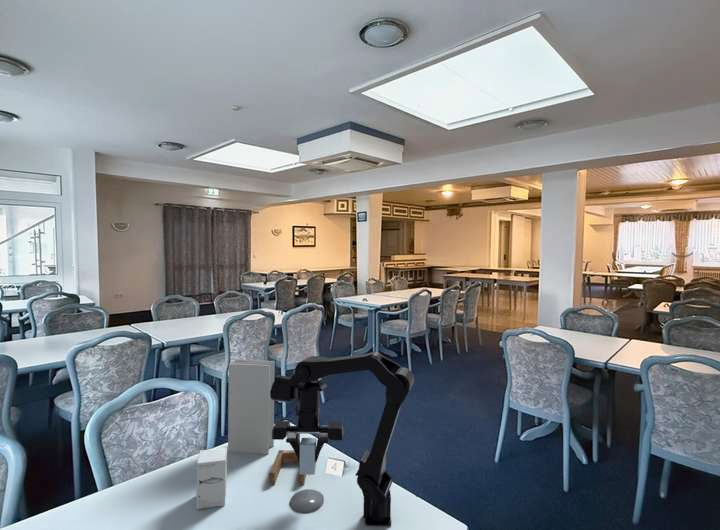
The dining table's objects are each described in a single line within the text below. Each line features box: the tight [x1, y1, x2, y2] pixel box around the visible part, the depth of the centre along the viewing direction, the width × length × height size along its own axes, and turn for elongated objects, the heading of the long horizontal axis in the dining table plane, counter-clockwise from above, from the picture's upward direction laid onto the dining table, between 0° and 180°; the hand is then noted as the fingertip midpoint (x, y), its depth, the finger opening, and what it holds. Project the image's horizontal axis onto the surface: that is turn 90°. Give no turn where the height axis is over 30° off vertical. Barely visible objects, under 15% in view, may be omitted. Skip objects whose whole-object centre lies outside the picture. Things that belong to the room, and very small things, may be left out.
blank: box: [299, 437, 317, 475], centre depth 106 cm, size 4×4×8 cm
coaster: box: [290, 488, 325, 513], centre depth 107 cm, size 9×9×1 cm
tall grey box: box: [227, 359, 276, 455], centre depth 134 cm, size 14×6×30 cm, turn 84°
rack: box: [269, 449, 307, 486], centre depth 120 cm, size 10×13×4 cm
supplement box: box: [195, 447, 228, 511], centre depth 106 cm, size 7×7×13 cm
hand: (308, 461), depth 106 cm, fingers closed on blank, 4 cm apart
